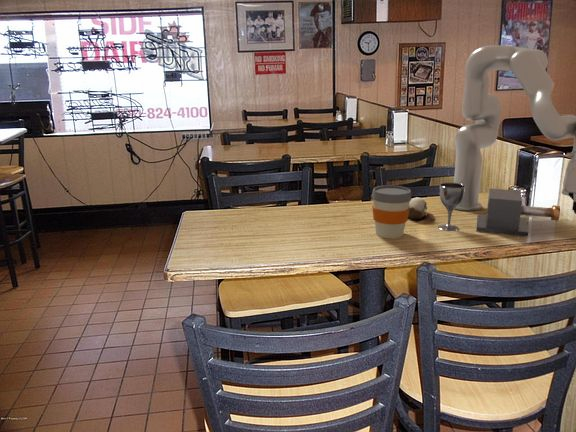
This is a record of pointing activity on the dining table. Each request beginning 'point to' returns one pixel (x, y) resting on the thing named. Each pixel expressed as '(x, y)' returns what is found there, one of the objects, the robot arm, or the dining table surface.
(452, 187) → the wine glass
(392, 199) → the reusable coffee cup
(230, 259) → the dining table surface
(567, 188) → the robot arm
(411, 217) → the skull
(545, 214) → the shaft
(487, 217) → the block
